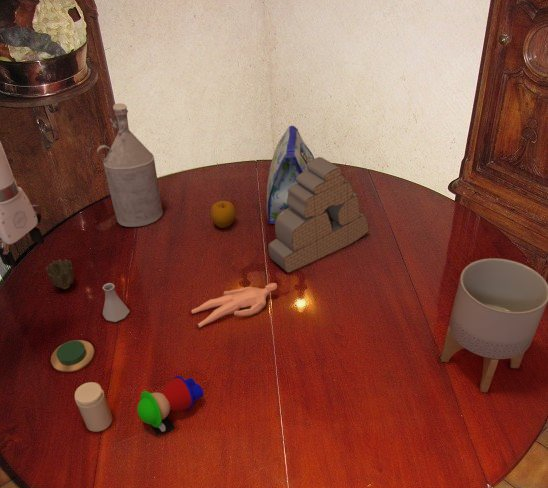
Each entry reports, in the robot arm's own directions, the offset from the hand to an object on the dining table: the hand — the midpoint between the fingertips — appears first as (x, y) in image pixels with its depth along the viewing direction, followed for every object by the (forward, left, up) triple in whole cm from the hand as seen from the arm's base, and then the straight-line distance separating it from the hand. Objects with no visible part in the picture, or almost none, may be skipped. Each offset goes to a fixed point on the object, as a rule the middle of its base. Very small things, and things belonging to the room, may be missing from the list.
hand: (24, 253), depth 133 cm
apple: (+48, +46, -28) cm, 72 cm away
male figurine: (+49, +4, -28) cm, 57 cm away
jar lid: (+5, -8, -26) cm, 28 cm away
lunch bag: (+72, +53, -28) cm, 94 cm away
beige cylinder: (+14, -30, -28) cm, 44 cm away
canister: (+19, +56, -28) cm, 66 cm away
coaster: (+5, -8, -28) cm, 30 cm away
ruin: (+77, +29, -28) cm, 87 cm away
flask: (+15, +7, -28) cm, 33 cm away
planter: (+108, -26, -28) cm, 115 cm away
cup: (-1, +21, -28) cm, 35 cm away
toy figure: (+31, -30, -28) cm, 52 cm away
